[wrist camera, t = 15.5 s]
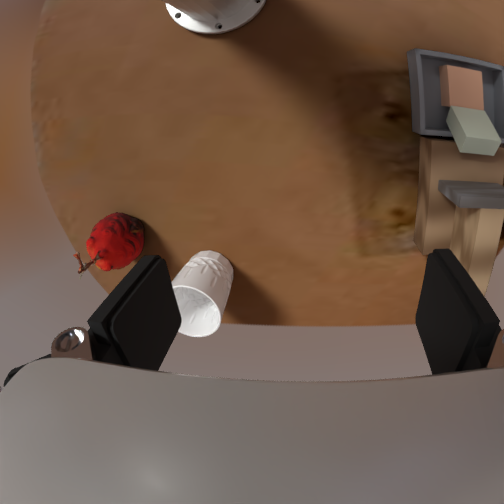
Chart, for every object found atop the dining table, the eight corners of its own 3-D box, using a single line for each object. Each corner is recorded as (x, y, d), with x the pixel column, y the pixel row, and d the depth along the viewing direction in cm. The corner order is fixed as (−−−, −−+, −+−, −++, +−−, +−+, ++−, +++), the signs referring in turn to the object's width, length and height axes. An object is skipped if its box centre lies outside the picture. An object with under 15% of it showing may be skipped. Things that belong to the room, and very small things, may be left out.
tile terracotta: (449, 106, 26) (441, 105, 29) (483, 111, 25) (474, 110, 28) (447, 64, 24) (438, 66, 26) (481, 71, 23) (472, 72, 25)
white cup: (249, 271, 44) (234, 315, 35) (216, 301, 48) (197, 346, 39) (205, 235, 43) (179, 273, 34) (176, 269, 46) (148, 309, 37)
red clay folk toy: (101, 222, 44) (40, 270, 31) (128, 197, 42) (62, 244, 29) (130, 259, 47) (78, 317, 34) (159, 239, 44) (106, 298, 31)
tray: (406, 51, 27) (414, 48, 24) (493, 67, 24) (504, 66, 22) (412, 131, 31) (420, 134, 29) (495, 139, 29) (507, 144, 26)
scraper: (438, 179, 30) (460, 196, 25) (497, 183, 28) (523, 199, 23) (425, 279, 36) (440, 307, 30) (480, 276, 34) (498, 301, 29)
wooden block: (419, 135, 31) (431, 140, 28) (489, 142, 29) (505, 148, 26) (413, 240, 38) (422, 254, 34) (478, 239, 36) (490, 252, 32)
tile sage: (445, 121, 28) (450, 105, 26) (478, 125, 28) (484, 110, 25) (459, 152, 26) (466, 136, 24) (493, 155, 25) (501, 141, 23)
